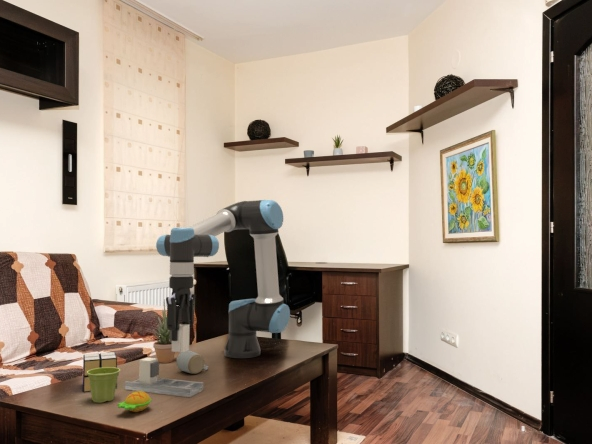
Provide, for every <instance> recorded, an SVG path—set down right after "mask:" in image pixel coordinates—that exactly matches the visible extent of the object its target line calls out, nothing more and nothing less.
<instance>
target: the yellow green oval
mask: <svg viewBox="0 0 592 444" xmlns="http://www.w3.org/2000/svg"><path fill="white" fill-rule="evenodd" d="M151 402H152V398H151V397H150V395H149V393H148V392H143V391H133V392H131V393H130V394H128V395H127V397H126V398H125V400H124V401H123V402H119V403H117V404H116V406H118V407H117V408H118V409H124V410H128V411H130V412H133V413H138V412H143V411H145V409H147V408H148V406H149V405H150V403H151Z"/></svg>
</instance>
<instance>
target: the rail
mask: <svg viewBox="0 0 592 444" xmlns="http://www.w3.org/2000/svg"><path fill="white" fill-rule="evenodd" d="M124 390H126V391H133V392H135V391H136V392H137V391H143V392H145V393H152V394H161V395H167V396H174V397H175V396H177V397H183V398H192V397H193V396H195V395H196V394H199V393H201V392H202V391H204V382H202V381H201V382H200V381H193V380H182V379H174V378H165V377H157V381H156V382H153V383H151V384H148V383H139V378H137V379H136V380H133V381H129V380H126V381H124Z"/></svg>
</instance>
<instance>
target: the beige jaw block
mask: <svg viewBox="0 0 592 444" xmlns="http://www.w3.org/2000/svg"><path fill="white" fill-rule="evenodd" d="M189 326H190V325H189V324H182V323H180V326H179V330H181V344H180V352H179V353H181V352H185V351H187V350H190V327H189ZM170 342H172V331H171V330H170ZM173 352H175V353H178V352H177V351H173Z"/></svg>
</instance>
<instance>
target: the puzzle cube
mask: <svg viewBox="0 0 592 444" xmlns="http://www.w3.org/2000/svg"><path fill="white" fill-rule="evenodd" d="M82 365H83V369H82V370H83V371H82V392H83V393H89V392H90V391H91V387H90V379H89V377H88V374H87V371H88V370H91V369H95V368H103V367H115V368H118V357H117V354H116V352H115V351H113V352H112V351H110V352H100V353H99V352H98V353H97V352H96V353H85V354H83V364H82ZM117 383H118V381H117V382H116V388H115V390H116V389H117V387H118V384H117Z"/></svg>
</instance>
